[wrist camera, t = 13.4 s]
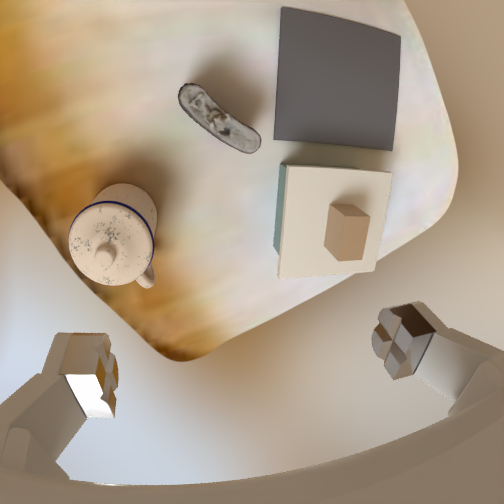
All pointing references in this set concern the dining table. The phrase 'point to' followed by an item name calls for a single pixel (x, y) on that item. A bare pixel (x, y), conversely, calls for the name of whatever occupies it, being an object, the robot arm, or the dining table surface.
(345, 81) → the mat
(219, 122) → the flask
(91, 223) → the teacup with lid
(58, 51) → the dining table surface
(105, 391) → the robot arm
